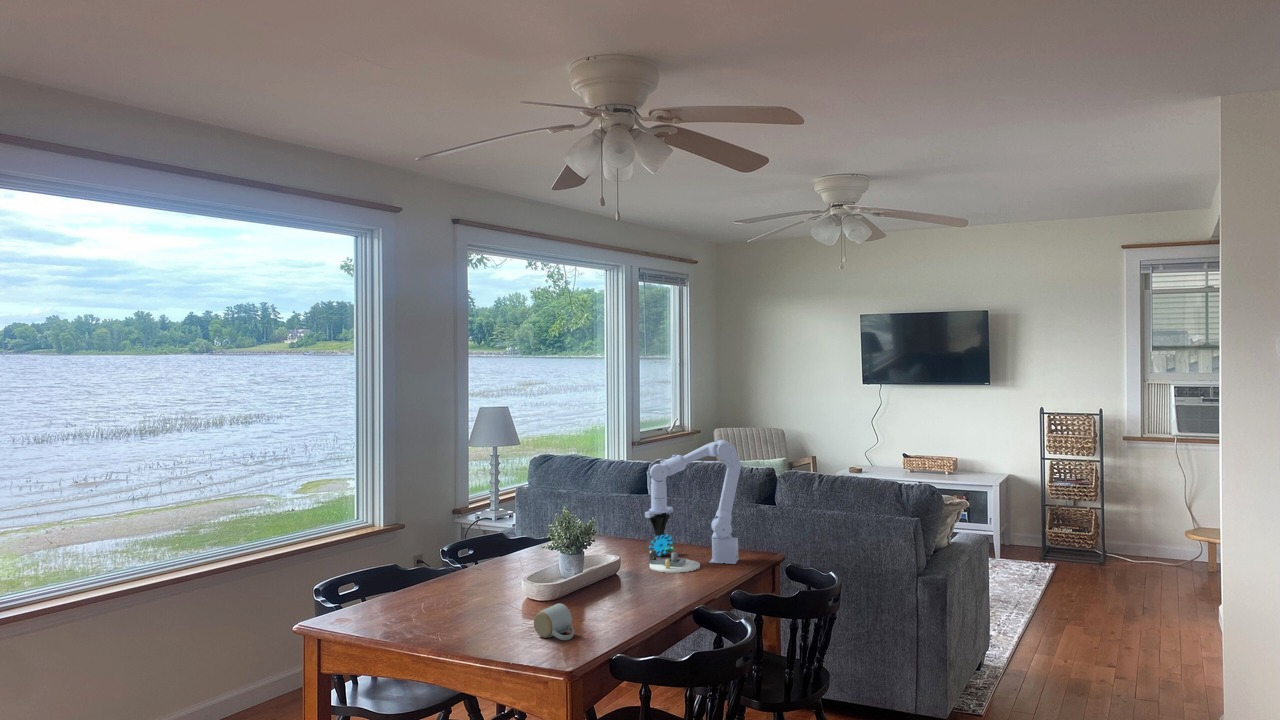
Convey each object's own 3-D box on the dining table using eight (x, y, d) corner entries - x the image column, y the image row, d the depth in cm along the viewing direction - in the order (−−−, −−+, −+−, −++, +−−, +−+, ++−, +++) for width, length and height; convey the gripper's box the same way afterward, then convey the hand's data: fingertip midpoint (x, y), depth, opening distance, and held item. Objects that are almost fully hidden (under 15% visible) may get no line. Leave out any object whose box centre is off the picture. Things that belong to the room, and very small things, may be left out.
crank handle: (686, 561, 312) (685, 550, 312) (682, 566, 306) (681, 554, 306) (652, 560, 316) (651, 548, 316) (647, 564, 309) (647, 552, 309)
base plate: (704, 562, 316) (704, 548, 316) (694, 574, 299) (694, 559, 299) (656, 560, 321) (656, 547, 321) (643, 572, 304) (643, 557, 304)
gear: (643, 550, 331) (657, 530, 335) (650, 559, 334) (664, 539, 339) (664, 559, 323) (678, 537, 327) (670, 568, 326) (685, 546, 331)
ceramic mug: (531, 636, 233) (531, 607, 233) (553, 628, 239) (552, 600, 239) (560, 644, 226) (559, 614, 226) (581, 636, 233) (581, 607, 233)
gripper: (661, 494, 324) (662, 530, 324) (637, 499, 313) (638, 537, 313) (677, 495, 320) (678, 532, 320) (653, 500, 309) (654, 539, 309)
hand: (659, 534), depth 316 cm, fingers closed
